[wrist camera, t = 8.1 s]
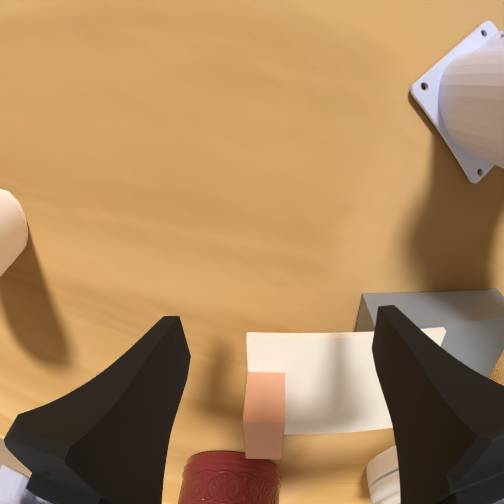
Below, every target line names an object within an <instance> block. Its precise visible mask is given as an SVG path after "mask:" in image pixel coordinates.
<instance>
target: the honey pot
mask: <svg viewBox="0 0 504 504" xmlns="http://www.w3.org/2000/svg"><path fill="white" fill-rule="evenodd" d="M366 473H367V480H368V488H369V493H370V499H371V501H372V503H373V504H401V500H400V479H399V467H398V458H397V450H396V445H395V446H393V447H391V448H389V449H387V450H385V451H383V452H382V453H380V454H378V455H377V456H376V457H374V458H373V459H372V460H371V461H370V462H369V463H368V465H367V467H366Z"/></svg>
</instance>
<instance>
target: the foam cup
mask: <svg viewBox="0 0 504 504" xmlns="http://www.w3.org/2000/svg"><path fill="white" fill-rule="evenodd" d="M28 234H29V232H28V226H27V221H26V216H25V214H24V212H23V210H22V208H21V206H20V204H19V202H18V201H17V200H16V199H15V198H14V197H13V196H12V194H11V193H10V192H8V191H5V190H2V189H0V277H1V276H2V274H3V273H4V272H5V271H6V270H7V269H8V267H9V266H10V265H11V264H12V263H13V262H14V261H15V259H16V258H17V257H18V256H19V255H20V254H21V252H22V251H23V250H24V249H25V247H26V246H27V240H28Z"/></svg>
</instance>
